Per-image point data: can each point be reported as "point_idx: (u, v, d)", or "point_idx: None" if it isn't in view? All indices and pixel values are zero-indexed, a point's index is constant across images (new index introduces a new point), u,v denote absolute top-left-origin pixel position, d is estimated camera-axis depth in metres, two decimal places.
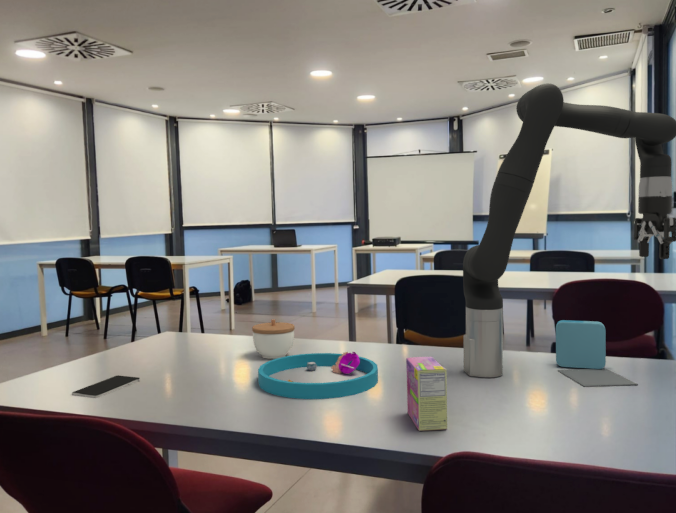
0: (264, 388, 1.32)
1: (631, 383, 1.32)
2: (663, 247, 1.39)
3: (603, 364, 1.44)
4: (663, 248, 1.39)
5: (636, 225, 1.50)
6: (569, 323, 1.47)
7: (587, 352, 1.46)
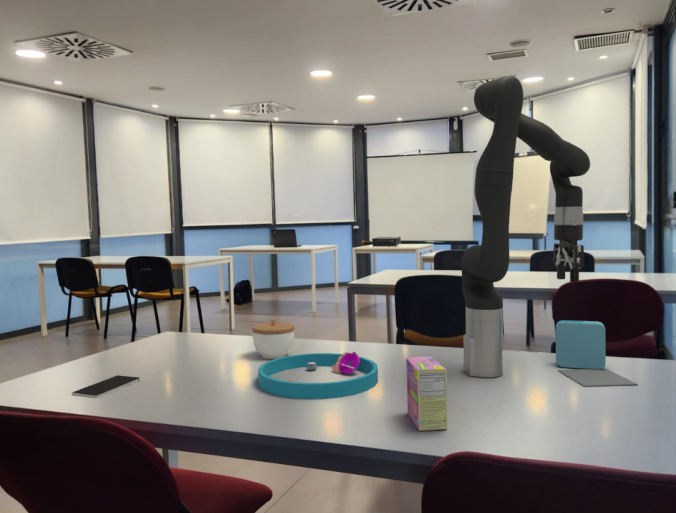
0: (264, 388, 1.32)
1: (631, 383, 1.32)
2: (573, 272, 1.52)
3: (603, 364, 1.44)
4: (573, 273, 1.52)
5: (554, 250, 1.62)
6: (569, 323, 1.47)
7: (587, 353, 1.45)
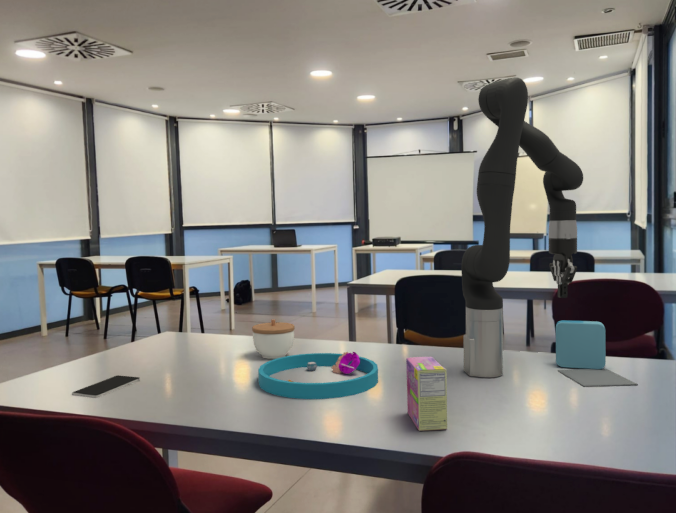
0: (264, 388, 1.32)
1: (631, 383, 1.32)
2: (562, 287, 1.57)
3: (603, 364, 1.44)
4: (562, 288, 1.57)
5: (551, 268, 1.62)
6: (569, 323, 1.47)
7: (587, 353, 1.45)
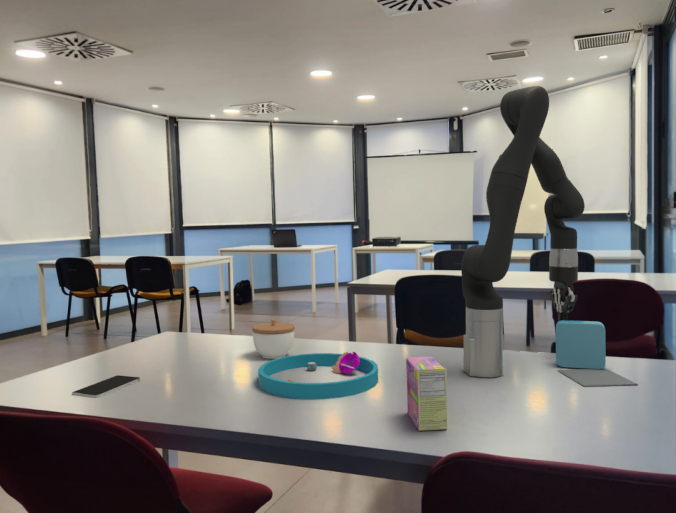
0: (264, 388, 1.32)
1: (631, 383, 1.32)
2: (562, 315, 1.57)
3: (603, 364, 1.44)
4: (562, 316, 1.57)
5: (552, 295, 1.62)
6: (569, 323, 1.47)
7: (587, 353, 1.45)
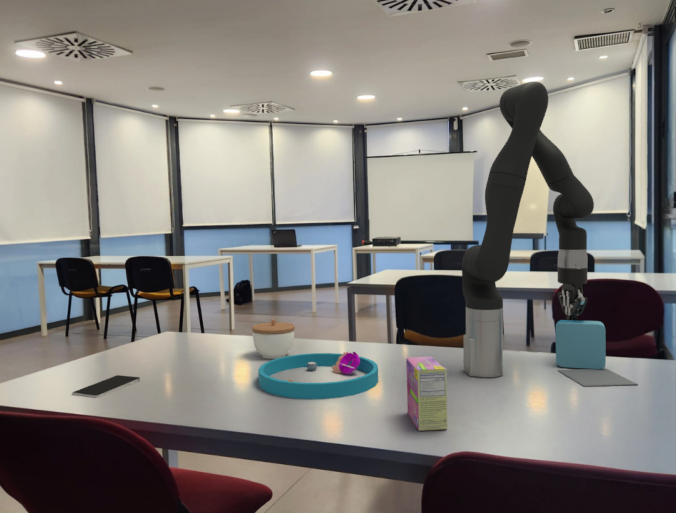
0: (264, 388, 1.32)
1: (631, 383, 1.32)
2: (571, 318, 1.51)
3: (603, 364, 1.44)
4: (571, 319, 1.51)
5: (560, 298, 1.57)
6: (569, 324, 1.47)
7: (587, 353, 1.45)
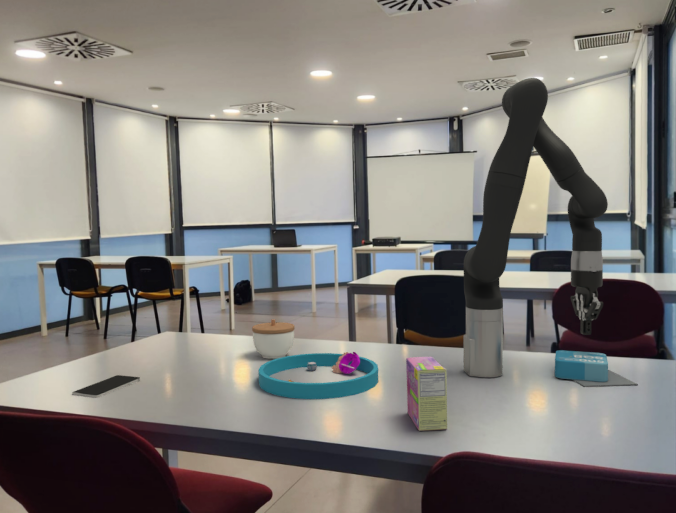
0: (264, 388, 1.32)
1: (631, 383, 1.32)
2: (585, 324, 1.44)
3: None
4: (585, 325, 1.44)
5: (573, 302, 1.49)
6: (569, 378, 1.36)
7: None
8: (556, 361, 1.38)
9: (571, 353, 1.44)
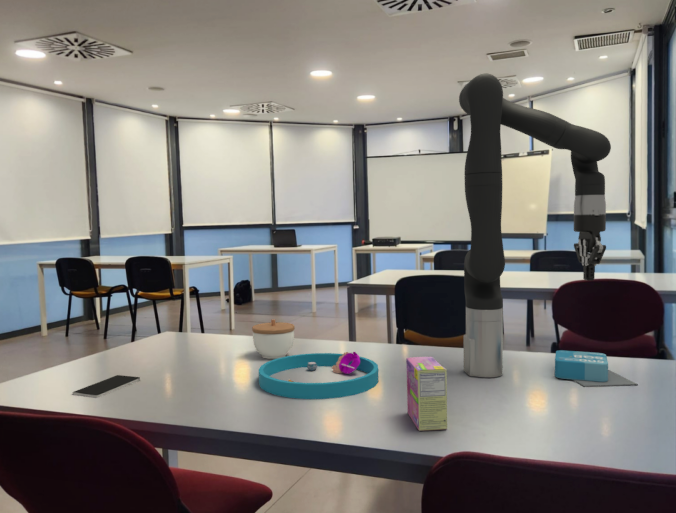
0: (265, 388, 1.32)
1: (631, 383, 1.32)
2: (588, 269, 1.43)
3: None
4: (588, 270, 1.43)
5: (576, 249, 1.48)
6: (569, 378, 1.36)
7: None
8: (556, 361, 1.38)
9: (571, 353, 1.44)
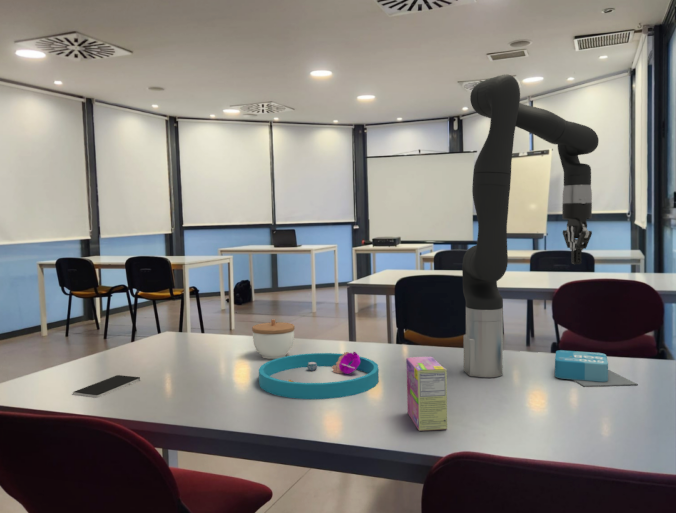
0: (265, 388, 1.32)
1: (631, 383, 1.32)
2: (575, 253, 1.55)
3: None
4: (575, 254, 1.55)
5: (565, 235, 1.60)
6: (569, 378, 1.36)
7: None
8: (556, 361, 1.38)
9: (571, 353, 1.44)
